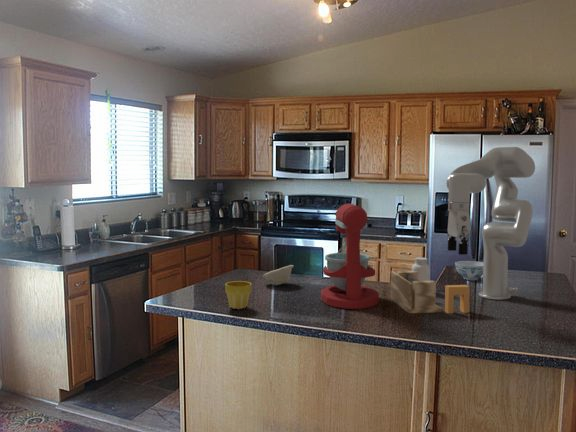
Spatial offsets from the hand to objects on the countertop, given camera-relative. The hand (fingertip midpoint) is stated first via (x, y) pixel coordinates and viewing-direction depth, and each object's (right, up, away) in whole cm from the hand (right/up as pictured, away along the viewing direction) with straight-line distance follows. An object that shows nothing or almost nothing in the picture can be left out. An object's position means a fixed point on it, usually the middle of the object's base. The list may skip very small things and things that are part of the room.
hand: (457, 252), depth 196 cm
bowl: (-68, -19, +50) cm, 86 cm away
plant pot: (-83, -23, +9) cm, 86 cm away
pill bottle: (-5, -20, +34) cm, 40 cm away
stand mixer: (-38, -21, +21) cm, 48 cm away
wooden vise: (-13, -22, +12) cm, 28 cm away
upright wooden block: (0, -23, +2) cm, 23 cm away
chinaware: (+26, -18, +61) cm, 68 cm away
